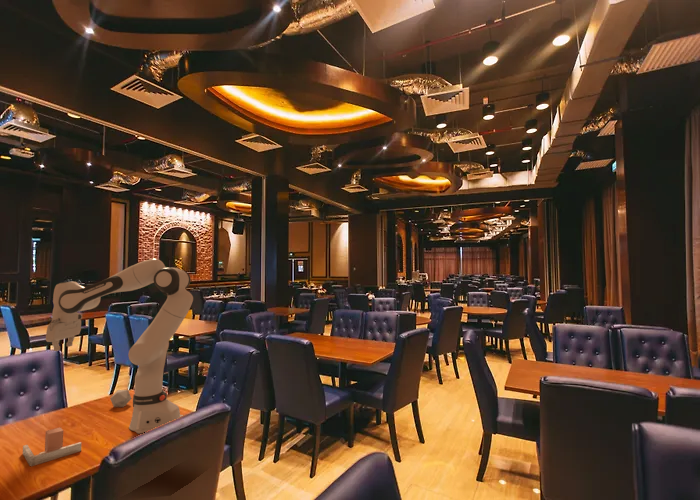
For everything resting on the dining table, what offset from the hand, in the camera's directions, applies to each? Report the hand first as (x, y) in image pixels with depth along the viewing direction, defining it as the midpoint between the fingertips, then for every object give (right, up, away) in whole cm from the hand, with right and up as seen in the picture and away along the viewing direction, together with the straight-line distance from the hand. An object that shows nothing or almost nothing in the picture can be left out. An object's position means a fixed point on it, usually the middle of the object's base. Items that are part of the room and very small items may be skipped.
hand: (63, 348), depth 167 cm
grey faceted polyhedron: (+12, -36, +22) cm, 44 cm away
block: (+17, -33, -26) cm, 45 cm away
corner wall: (+17, -33, -26) cm, 45 cm away
